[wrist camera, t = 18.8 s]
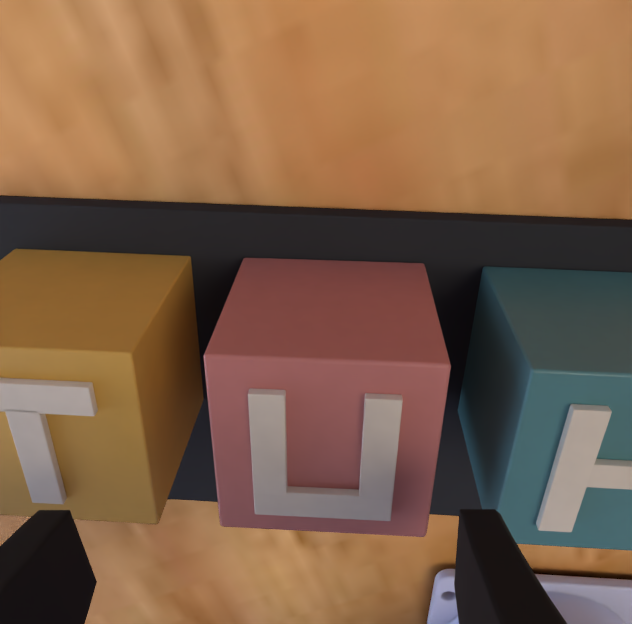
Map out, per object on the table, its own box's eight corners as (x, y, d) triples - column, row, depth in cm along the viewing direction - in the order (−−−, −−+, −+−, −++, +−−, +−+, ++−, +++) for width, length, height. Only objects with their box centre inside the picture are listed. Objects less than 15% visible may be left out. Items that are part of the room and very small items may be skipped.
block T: (204, 399, 17) (155, 532, 13) (50, 391, 17) (-47, 520, 13) (191, 255, 15) (128, 359, 11) (14, 248, 15) (-115, 347, 11)
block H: (619, 419, 17) (709, 564, 12) (457, 411, 17) (491, 551, 13) (670, 273, 14) (800, 389, 10) (482, 265, 15) (534, 376, 10)
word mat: (677, 515, 19) (686, 529, 19) (-9, 475, 20) (-19, 488, 19) (808, 226, 14) (825, 235, 14) (-105, 191, 15) (-121, 198, 15)
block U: (409, 407, 17) (427, 546, 13) (251, 401, 17) (217, 535, 13) (425, 261, 15) (454, 371, 10) (243, 256, 15) (199, 361, 11)
